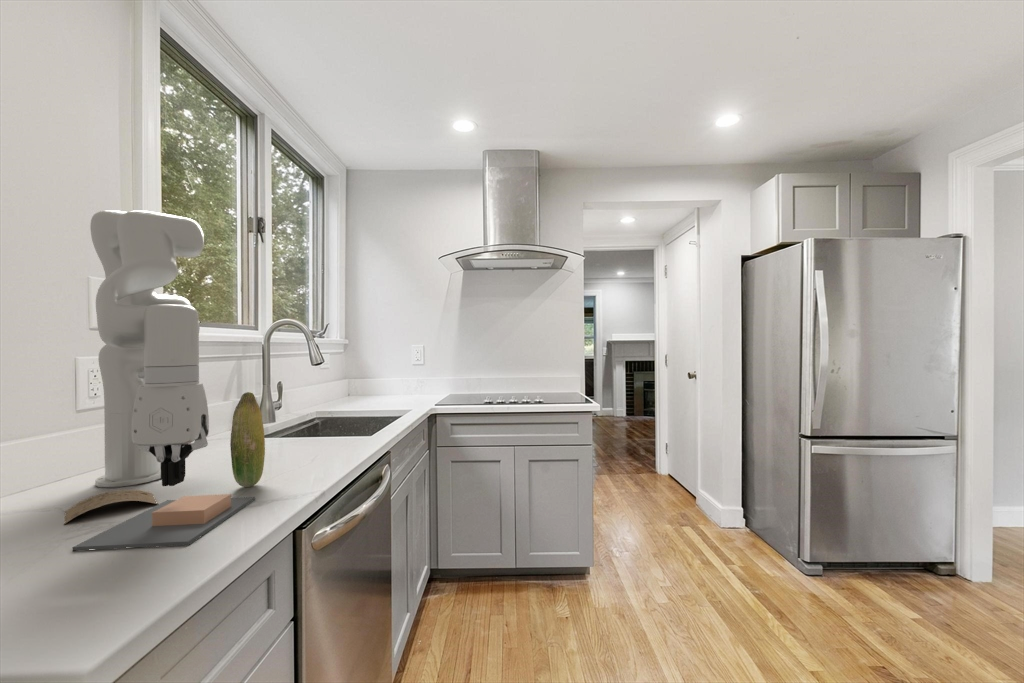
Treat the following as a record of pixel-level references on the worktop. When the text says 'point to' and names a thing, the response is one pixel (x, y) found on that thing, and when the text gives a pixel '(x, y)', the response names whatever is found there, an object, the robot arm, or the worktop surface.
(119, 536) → the mat
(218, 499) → the block
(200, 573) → the worktop surface
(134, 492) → the cork arch piece
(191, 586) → the worktop surface
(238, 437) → the vegetable
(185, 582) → the worktop surface
